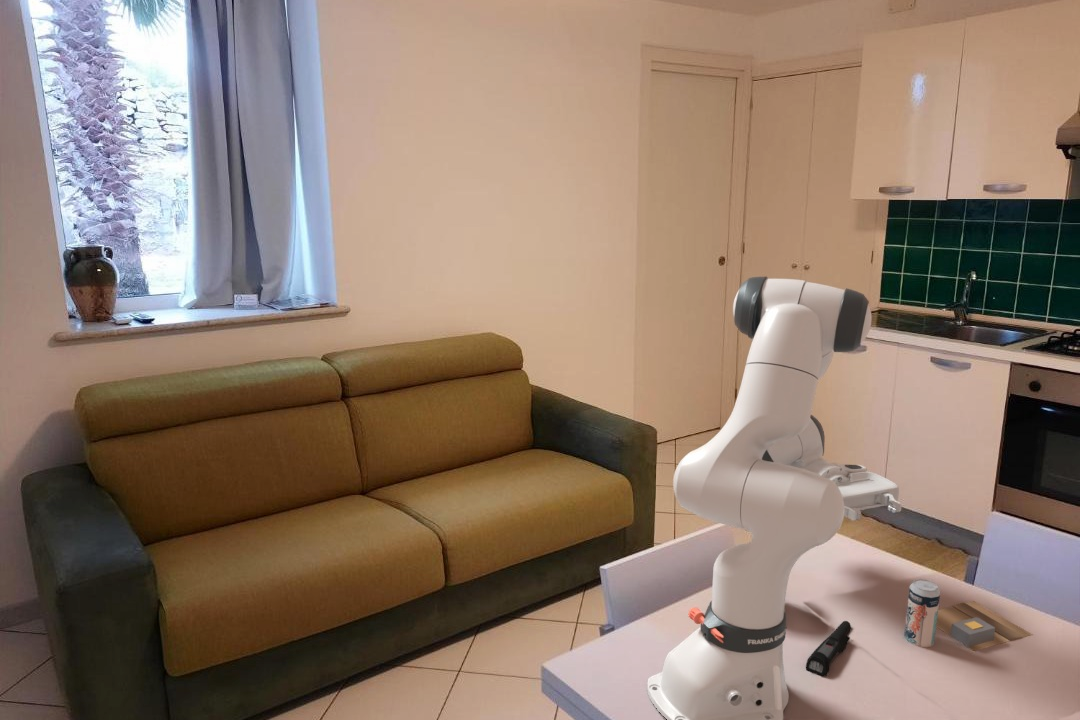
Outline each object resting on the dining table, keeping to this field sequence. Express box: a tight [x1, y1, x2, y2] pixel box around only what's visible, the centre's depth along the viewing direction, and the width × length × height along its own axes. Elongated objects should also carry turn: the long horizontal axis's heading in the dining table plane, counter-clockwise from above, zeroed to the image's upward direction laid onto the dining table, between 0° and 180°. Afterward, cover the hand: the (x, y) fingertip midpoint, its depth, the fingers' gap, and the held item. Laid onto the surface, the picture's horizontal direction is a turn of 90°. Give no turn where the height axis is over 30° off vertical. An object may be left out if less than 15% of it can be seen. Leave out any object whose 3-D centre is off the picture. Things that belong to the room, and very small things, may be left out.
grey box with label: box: [949, 617, 995, 648], centre depth 133 cm, size 6×4×3 cm, turn 110°
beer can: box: [903, 578, 941, 648], centre depth 132 cm, size 5×5×12 cm
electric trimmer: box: [805, 620, 852, 678], centre depth 131 cm, size 4×16×3 cm, turn 139°
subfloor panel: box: [936, 600, 1033, 652], centre depth 137 cm, size 14×12×2 cm
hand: (878, 512), depth 140 cm, fingers open, 8 cm apart
